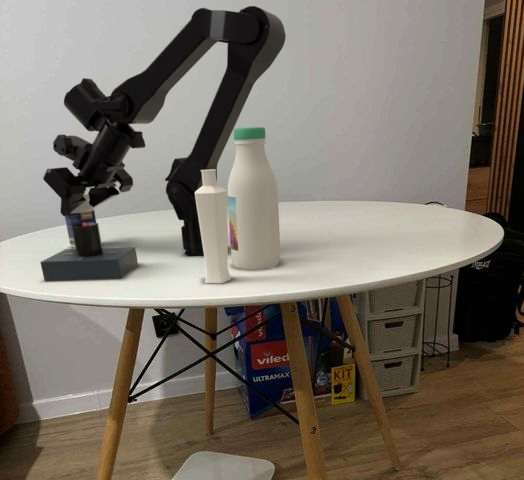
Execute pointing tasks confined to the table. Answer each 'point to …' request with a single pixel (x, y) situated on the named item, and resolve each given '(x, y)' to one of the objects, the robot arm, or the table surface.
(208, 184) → the perfume bottle
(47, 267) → the block
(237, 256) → the milk bottle
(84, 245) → the clamp knob
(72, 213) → the pill bottle
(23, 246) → the table surface
